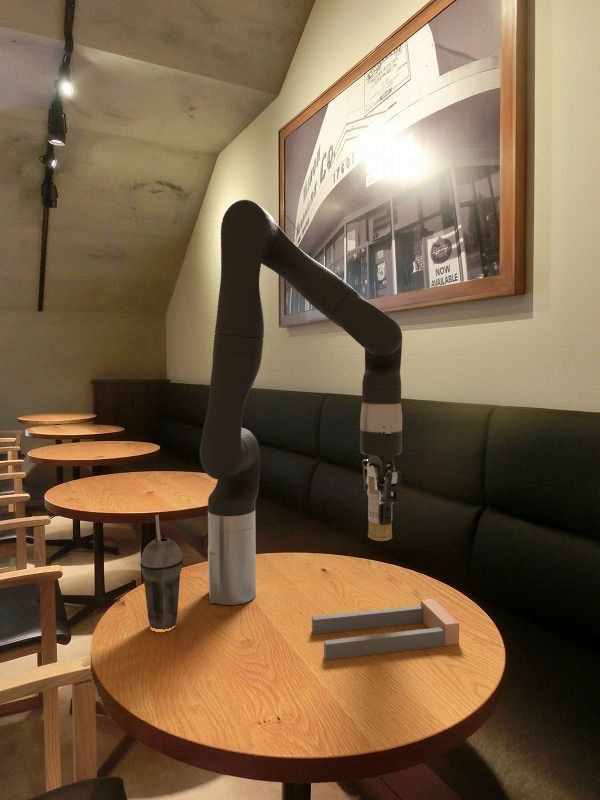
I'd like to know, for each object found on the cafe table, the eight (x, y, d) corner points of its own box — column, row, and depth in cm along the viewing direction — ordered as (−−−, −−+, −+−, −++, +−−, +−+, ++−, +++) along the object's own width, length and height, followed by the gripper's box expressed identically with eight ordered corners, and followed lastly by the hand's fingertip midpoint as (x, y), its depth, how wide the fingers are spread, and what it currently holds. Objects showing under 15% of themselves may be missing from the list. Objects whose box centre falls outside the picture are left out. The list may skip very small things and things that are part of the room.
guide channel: (326, 660, 82) (326, 638, 82) (311, 631, 92) (311, 611, 91) (458, 643, 87) (459, 623, 87) (432, 617, 96) (433, 598, 96)
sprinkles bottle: (397, 538, 98) (398, 466, 97) (378, 543, 95) (379, 468, 95) (380, 532, 102) (381, 462, 101) (362, 536, 99) (362, 464, 98)
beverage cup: (192, 620, 96) (190, 510, 95) (169, 639, 89) (167, 521, 88) (157, 614, 98) (155, 506, 97) (132, 632, 91) (129, 517, 90)
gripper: (349, 424, 103) (348, 511, 105) (375, 433, 90) (374, 533, 91) (385, 423, 105) (384, 509, 106) (417, 432, 91) (415, 530, 92)
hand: (379, 519), depth 98 cm, fingers closed on sprinkles bottle, 4 cm apart
